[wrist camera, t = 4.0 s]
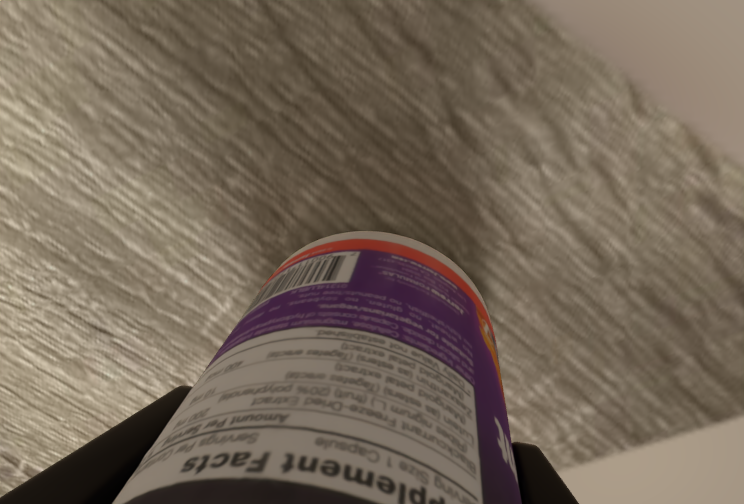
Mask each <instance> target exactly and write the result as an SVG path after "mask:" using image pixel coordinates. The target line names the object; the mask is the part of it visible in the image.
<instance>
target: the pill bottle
mask: <svg viewBox="0 0 744 504" xmlns="http://www.w3.org/2000/svg"><path fill="white" fill-rule="evenodd" d="M112 504H522V502H521V497H520V491H519V486H518V479H517V472H516V466H515V461H514V455H513V449H512V443H511V437H510V430H509V424H508V417H507V411H506V404H505V398H504V392H503V386H502V380H501V374H500V367H499V360H498V353H497V346H496V340H495V336H494V332H493V327H492V323H491V319H490V315H489V312H488V309H487V307H486V305H485V302H484V300H483V298H482V296H481V294H480V293H479V291H478V290H477V288H476V286H475V285H474V283H473V282H472V281H471V280H470V278H469V277H468V276H467V275H466V274H465V272H464V271H463V270H462V269H461V268H460V267H459V266H457V265H456V264H455V263H454V262H453V261H452V260H450V259H449V258H448V257H446V256H445V255H443V254H442V253H440V252H439V251H437V250H435V249H433V248H431V247H430V246H428V245H426V244H424V243H421V242H419V241H416V240H414V239H411V238H408V237H404V236H400V235H396V234H392V233H386V232H378V231H354V232H345V233H340V234H335V235H331V236H328V237H324V238H322V239H319V240H316V241H314V242H312V243H310V244H308V245H306V246H304V247H303V248H301V249H299V250H298V251H296V252H295V253H293V254H292V255H291V256H290V257H289V258H287V259H286V260H285V261H284V262H283V263H282V264H281V265H280V266H279V268H278V269H277V270H276V271H275V272H274V273H273V275H272V276H271V277H270V278H269V279H268V281H267V282H266V283H265V284H264V286H263V287H262V288H261V290H260V291H259V293H258V294H257V296H256V297H255V299H254V300H253V302H252V303H251V305H250V306H249V308H248V309H247V310H246V312H245V313H244V315H243V316H242V318H241V319H240V321H239V322H238V323H237V325H236V326H235V328H234V329H233V331H232V332H231V334H230V335H229V336H228V338H227V339H226V341H225V342H224V344H223V345H222V346H221V348H220V349H219V351H218V352H217V354H216V355H215V356H214V358H213V359H212V361H211V362H210V364H209V365H208V367H207V368H206V370H205V371H204V373H203V374H202V375H201V377H200V378H199V380H198V381H197V383H196V384H195V385H194V386H193V388H192V389H191V390H190V392H189V393H188V395H187V396H186V398H185V399H184V401H183V402H182V404H181V405H180V407H179V408H178V409H177V411H176V412H175V414H174V415H173V417H172V418H171V420H170V421H169V422H168V424H167V425H166V427H165V428H164V430H163V431H162V433H161V434H160V436H159V437H158V439H157V440H156V442H155V443H154V445H153V446H152V447H151V448H150V450H149V451H148V452H147V453H146V455H145V456H144V458H143V460H142V461H141V463H140V465H139V467H138V468H137V469H136V471H135V472H134V473H133V475H132V476H131V477H130V479H129V480H128V481H127V483H126V484H125V486H124V487H123V489H122V490H121V491H120V493H119V494H118V496H117V497H116V499H115V500H114V502H113V503H112Z"/></svg>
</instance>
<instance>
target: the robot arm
mask: <svg viewBox="0 0 744 504" xmlns="http://www.w3.org/2000/svg"><path fill="white" fill-rule="evenodd" d="M192 388H193V387H191V386H179V387H177V388H175V389H174V390H172V391H171V392H169V393H167V394H166V395H164V396H163V397H161V398H159V399H158V400H156V401H155V402H153V403H151V404H150V405H148V406H147V407H145V408H143V409H142V410H140V411H139V412H137V413H135V414H134V415H132V416H130V417H129V418H127V419H126V420H124V421H122V422H121V423H119V424H118V425H116V426H114V427H113V428H111V429H110V430H108V431H106V432H105V433H103V434H102V435H100V436H98V437H97V438H95V439H94V440H92V441H90V442H89V443H87V444H86V445H84V446H82V447H81V448H79V449H78V450H76V451H74V452H73V453H71V454H69V455H68V456H66V457H65V458H63V459H61V460H60V461H58V462H57V463H55V464H53V465H52V466H50V467H49V468H47V469H45V470H44V471H42V472H41V473H39V474H37V475H36V476H34V477H33V478H31V479H29V480H28V481H26V482H25V483H23V484H21V485H20V486H18V487H16V488H15V489H13V490H12V491H10V492H8V493H7V494H5V495H4V496H2V497H0V504H112V503H113V502H114V500H115V499H116V497H117V496H118V494H119V493H120V491H121V490H122V489H123V487H124V486H125V484H126V483H127V481H128V480H129V479H130V477H131V476H132V475H133V473H134V472H135V471H136V469H137V468H138V467H139V465H140V463H141V461H142V460H143V458H144V456H145V455H146V453H147V452H148V451H149V450H150V448H151V447H152V446H153V445H154V443H155V442H156V440H157V439H158V437H159V436H160V434H161V433H162V431H163V430H164V428H165V427H166V425H167V424H168V422H169V421H170V420H171V418H172V417H173V415H174V414H175V412H176V411H177V409H178V408H179V407H180V405H181V404H182V402H183V401H184V399H185V398H186V396H187V395H188V393H189V392H190V390H191V389H192ZM512 449H513V455H514V461H515V466H516V472H517V479H518V486H519V491H520V497H521V502H522V504H579V503H578V502H577V500H576V499H575V497H574V496H573V495H572V493H571V492H570V490H569V489H568V488H567V486H566V485H565V484H564V482H563V481H562V479H561V478H560V476H559V475H558V474H557V472H556V471H555V470H554V468H553V467H552V465H551V464H550V463H549V461H548V460H547V458H546V457H545V456H544V454H543V453H542V451H541V450H540V449H539V448H538V447H537V446H535V445H532V444H526V443H521V442H513V443H512Z"/></svg>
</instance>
